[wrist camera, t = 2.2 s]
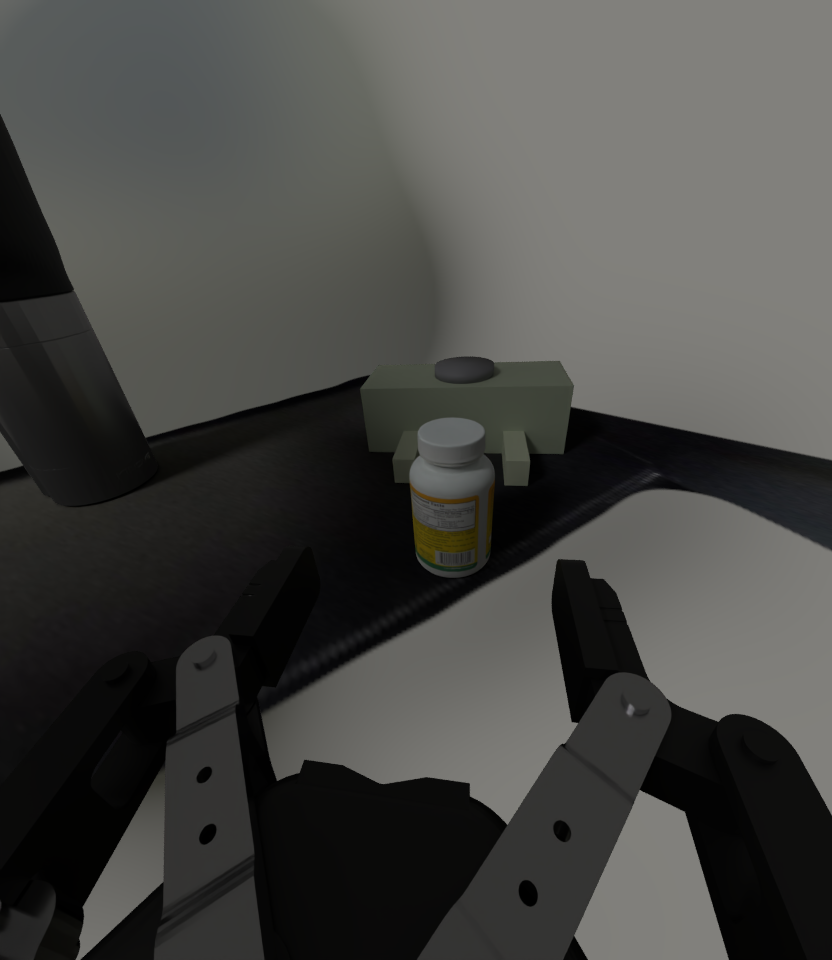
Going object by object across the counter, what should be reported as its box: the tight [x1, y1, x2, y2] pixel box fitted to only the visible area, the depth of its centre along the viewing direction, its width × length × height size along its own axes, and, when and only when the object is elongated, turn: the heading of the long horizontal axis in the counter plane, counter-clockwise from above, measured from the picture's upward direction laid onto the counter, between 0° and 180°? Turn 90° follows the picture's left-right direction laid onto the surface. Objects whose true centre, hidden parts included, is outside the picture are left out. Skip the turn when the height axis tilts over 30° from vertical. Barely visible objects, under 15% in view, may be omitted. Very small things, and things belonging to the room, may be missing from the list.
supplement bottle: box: [409, 418, 495, 578], centre depth 25 cm, size 5×5×10 cm
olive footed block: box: [360, 357, 574, 486], centre depth 39 cm, size 20×14×8 cm
